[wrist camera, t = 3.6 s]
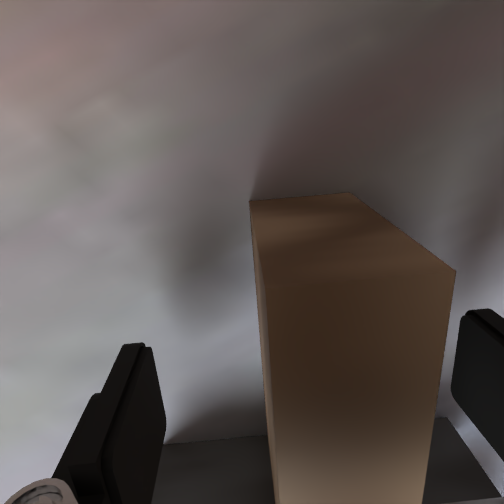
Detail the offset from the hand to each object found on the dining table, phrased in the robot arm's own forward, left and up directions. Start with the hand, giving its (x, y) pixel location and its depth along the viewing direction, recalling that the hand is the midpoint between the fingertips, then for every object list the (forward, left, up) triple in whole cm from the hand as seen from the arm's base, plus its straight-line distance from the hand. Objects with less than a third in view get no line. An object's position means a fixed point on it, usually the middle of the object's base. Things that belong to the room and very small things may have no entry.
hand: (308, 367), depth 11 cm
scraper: (0, 0, -3) cm, 3 cm away
